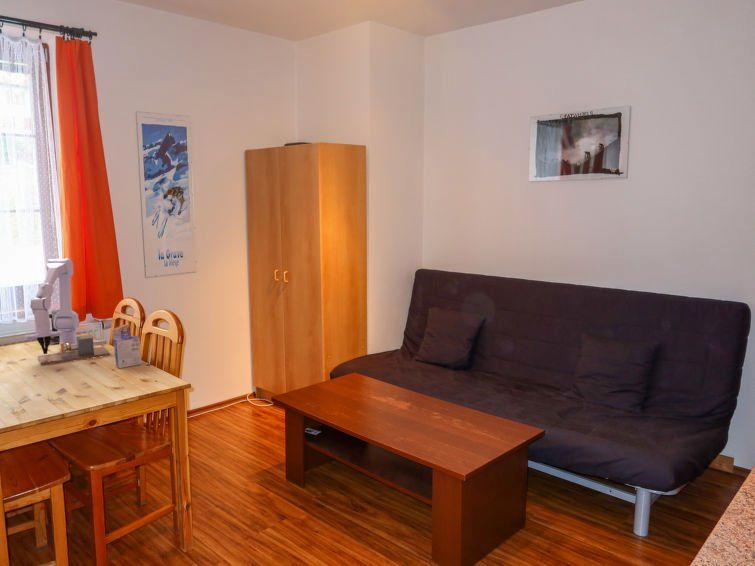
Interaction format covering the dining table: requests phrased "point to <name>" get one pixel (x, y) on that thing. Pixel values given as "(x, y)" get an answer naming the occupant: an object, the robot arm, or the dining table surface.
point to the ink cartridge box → (127, 350)
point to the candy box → (120, 330)
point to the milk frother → (52, 316)
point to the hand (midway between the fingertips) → (45, 353)
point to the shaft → (73, 346)
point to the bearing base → (75, 352)
